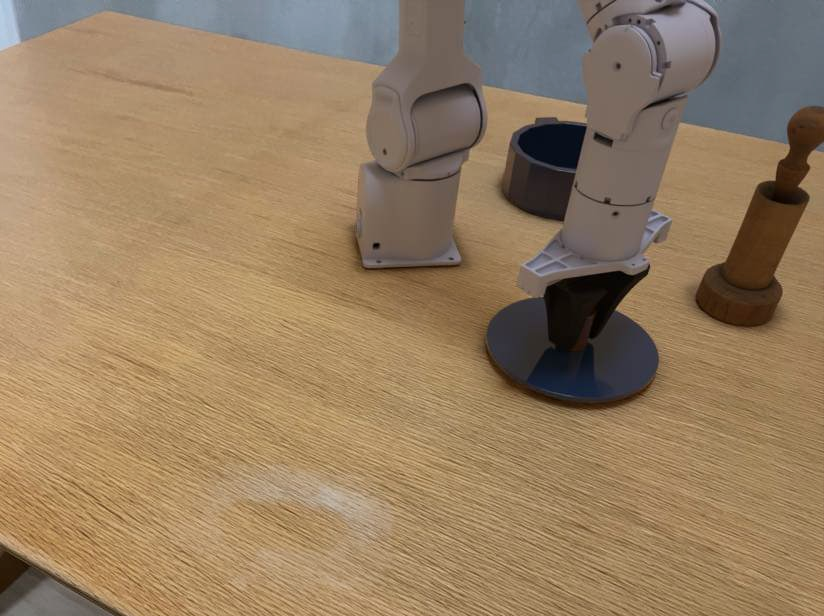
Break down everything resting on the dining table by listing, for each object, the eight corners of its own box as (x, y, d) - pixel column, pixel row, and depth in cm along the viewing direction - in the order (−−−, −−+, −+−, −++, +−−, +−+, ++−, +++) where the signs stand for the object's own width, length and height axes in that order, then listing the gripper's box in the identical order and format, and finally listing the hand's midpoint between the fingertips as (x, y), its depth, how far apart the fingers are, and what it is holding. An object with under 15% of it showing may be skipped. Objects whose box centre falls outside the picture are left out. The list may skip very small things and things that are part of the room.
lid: (508, 412, 64) (518, 366, 61) (468, 309, 74) (476, 265, 71) (683, 404, 64) (702, 358, 61) (619, 303, 74) (633, 259, 71)
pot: (526, 236, 83) (536, 187, 79) (484, 157, 96) (492, 112, 93) (649, 232, 83) (664, 183, 80) (590, 154, 97) (601, 109, 93)
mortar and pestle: (780, 330, 71) (877, 131, 59) (700, 321, 72) (779, 124, 60) (766, 287, 76) (854, 94, 63) (691, 279, 77) (763, 88, 65)
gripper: (588, 240, 53) (546, 397, 62) (727, 181, 59) (670, 332, 68) (510, 197, 58) (481, 349, 67) (646, 146, 64) (603, 292, 73)
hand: (572, 338), depth 68 cm, fingers closed on lid, 2 cm apart
